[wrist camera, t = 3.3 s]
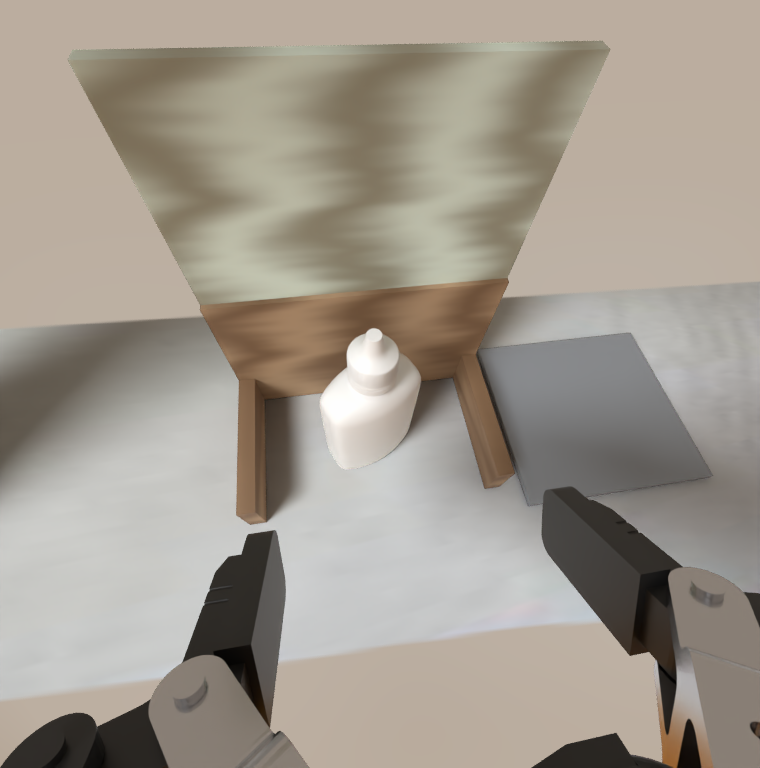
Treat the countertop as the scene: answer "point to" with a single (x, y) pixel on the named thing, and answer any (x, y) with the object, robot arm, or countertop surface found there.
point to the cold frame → (344, 201)
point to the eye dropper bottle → (369, 401)
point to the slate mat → (588, 417)
